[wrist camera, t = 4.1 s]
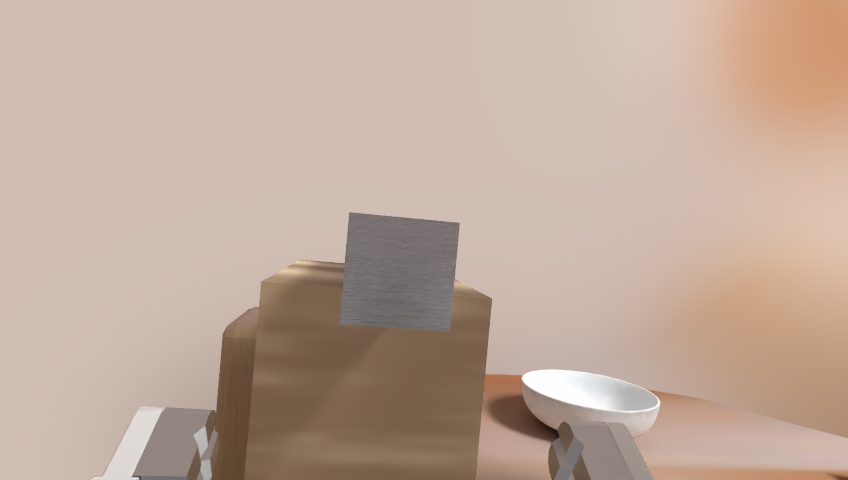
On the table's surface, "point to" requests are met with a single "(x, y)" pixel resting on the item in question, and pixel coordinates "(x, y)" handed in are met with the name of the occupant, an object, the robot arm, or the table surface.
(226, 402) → the block
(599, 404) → the serving bowl
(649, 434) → the table surface
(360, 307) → the bar
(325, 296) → the tall wooden pillar
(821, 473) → the table surface
